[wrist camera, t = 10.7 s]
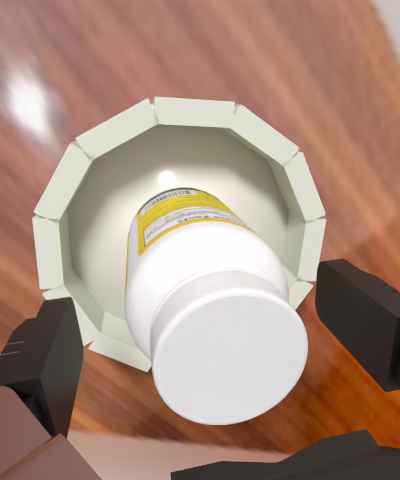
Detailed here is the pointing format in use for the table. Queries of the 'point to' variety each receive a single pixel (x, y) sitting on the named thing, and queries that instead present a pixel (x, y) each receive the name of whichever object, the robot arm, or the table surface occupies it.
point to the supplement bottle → (210, 309)
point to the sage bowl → (157, 180)
